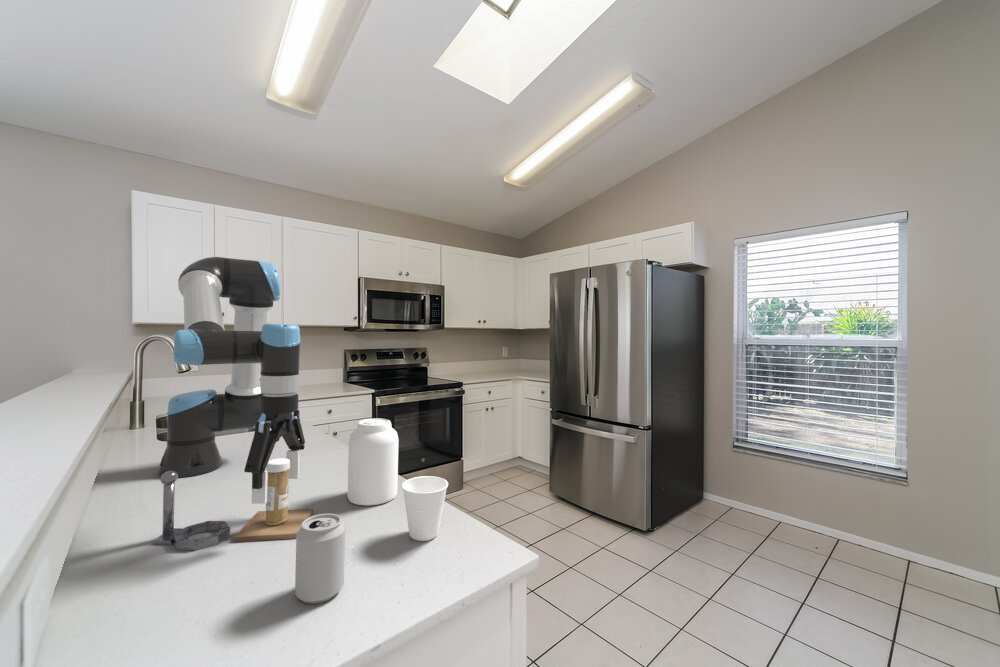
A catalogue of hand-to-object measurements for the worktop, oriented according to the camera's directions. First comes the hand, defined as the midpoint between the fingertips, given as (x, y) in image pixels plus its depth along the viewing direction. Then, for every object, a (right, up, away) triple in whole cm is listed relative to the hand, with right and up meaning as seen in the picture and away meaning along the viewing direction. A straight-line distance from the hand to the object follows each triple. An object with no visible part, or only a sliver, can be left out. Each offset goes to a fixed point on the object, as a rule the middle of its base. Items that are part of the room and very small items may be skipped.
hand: (277, 489), depth 90 cm
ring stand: (-14, -8, -6) cm, 17 cm away
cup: (+33, -9, -2) cm, 34 cm away
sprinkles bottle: (0, -7, 0) cm, 7 cm away
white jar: (+16, -9, +17) cm, 25 cm away
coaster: (0, -8, 0) cm, 8 cm away
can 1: (+19, -9, -22) cm, 30 cm away
